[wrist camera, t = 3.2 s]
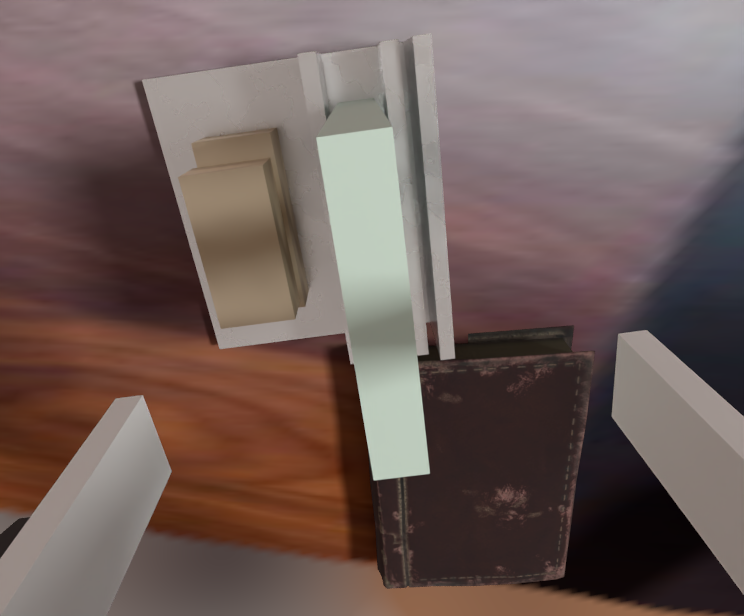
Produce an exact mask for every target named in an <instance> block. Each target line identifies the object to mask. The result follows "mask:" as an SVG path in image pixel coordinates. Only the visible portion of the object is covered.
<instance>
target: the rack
mask: <svg viewBox="0 0 744 616" xmlns="http://www.w3.org/2000/svg"><path fill="white" fill-rule="evenodd" d="M142 82H143V86H144V89H145V93H146V96H147V100H148V103H149V106H150V110H151V113H152V117H153V120H154V124H155V127H156V131H157V134H158V138H159V141H160V145H161V148H162V151H163V155H164V158H165V162H166V165H167V169H168V172H169V176H170V179H171V183H172V186H173V189H174V193H175V196H176V200H177V203H178V207H179V210H180V214H181V217H182V221H183V224H184V228H185V231H186V234H187V238H188V241H189V245H190V248H191V252H192V255H193V259H194V262H195V266H196V269H197V272H198V276H199V279H200V283H201V286H202V290H203V293H204V297H205V300H206V304H207V307H208V311H209V314H210V317H211V321H212V324H213V328H214V331H215V335H216V338H217V342H218V345H219V349H224V348H232V347H239V346H247V345H255V344H263V343H271V342H278V341H286V340H294V339H302V338H309V337H317V336H325V335H333V334H341V333H345V335H346V341H347V347H348V352H349V358H350V364H354V361H353V355H352V349H351V343H350V337H349V331H348V325H347V319H346V313H345V307H344V301H343V295H342V289H341V283H340V277H339V271H338V265H337V259H336V253H335V247H334V241H333V236H332V230H331V224H330V218H329V212H328V206H327V200H326V194H325V188H324V182H323V176H322V170H321V164H320V158H319V152H318V146H317V140H316V137H317V135H318V134H319V132H320V130H321V129H322V127H323V126H324V124H325V122H326V121H327V119H328V117H329V116H330V114H331V113H332V111H333V109H334V108H335V106H336V105H337V103H339V102H346V101H353V100H361V99H368V98H374V99H375V101H376V102H377V104H378V105H379V107H380V108H381V110H382V111H383V113H384V114H385V116H386V118H387V119H388V121H389V122H390V124H391V125H392V127H393V136H394V145H395V154H396V164H397V173H398V182H399V191H400V201H401V210H402V219H403V228H404V238H405V247H406V256H407V265H408V275H409V284H410V293H411V302H412V312H413V321H414V330H415V339H416V349H417V356H419V355H427V354H429V351H428V341H427V330H426V322H430V325H431V328H432V332H433V335H434V339H435V342H436V346H437V349H438V353H439V356H440V359H441V360H446V359H454V358H455V349H454V336H453V322H452V308H451V295H450V281H449V267H448V254H447V240H446V226H445V213H444V199H443V185H442V172H441V158H440V144H439V131H438V117H437V103H436V90H435V76H434V62H433V49H432V35H431V34H424V35H417V36H412V37H411V38H409V39H407V40H406V41H404V42H401V43H398V39H396V40H389V41H382V42H380V43H379V44H378V45H377V46H373V47H366V48H359V49H352V50H346V51H339V52H332V53H325V54H320V53H318V52H316V51H313V52H306V53H300V54H298V57H297V58H290V59H283V60H277V61H270V62H263V63H256V64H249V65H242V66H235V67H228V68H221V69H214V70H208V71H201V72H194V73H187V74H180V75H173V76H166V77H159V78H152V79H145V80H142ZM270 128H277V131H278V136H279V141H280V147H281V152H282V157H283V162H284V167H285V172H286V177H287V182H288V187H289V192H290V197H291V203H292V208H293V213H294V218H295V223H296V228H297V233H298V238H299V243H300V248H301V253H302V258H303V264H304V269H305V274H306V279H307V284H308V289H309V292H308V297H307V301H306V306H305V307H300V308H298V311H297V315H296V319H294V320H286V321H278V322H271V323H263V324H255V325H247V326H240V327H232V328H224V329H221V328H220V324H219V321H218V317H217V314H216V310H215V307H214V303H213V299H212V296H211V292H210V289H209V285H208V282H207V278H206V275H205V271H204V268H203V264H202V261H201V257H200V254H199V250H198V246H197V243H196V239H195V236H194V232H193V229H192V225H191V222H190V218H189V215H188V211H187V208H186V204H185V200H184V197H183V193H182V190H181V186H180V183H179V179H178V177H179V176H181V175H182V174H184V173H186V172H188V171H189V170H191V169H193V168H197V165H196V161H195V157H194V153H193V149H192V146H191V143H193V142H195V141H198V140H200V139H202V138H206V137H213V136H220V135H228V134H235V133H242V132H249V131H256V130H263V129H270Z"/></svg>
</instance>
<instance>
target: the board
mask: <svg viewBox="0 0 744 616" xmlns="http://www.w3.org/2000/svg"><path fill="white" fill-rule="evenodd" d="M316 140H317V146H318V152H319V158H320V164H321V170H322V176H323V182H324V188H325V194H326V200H327V206H328V212H329V218H330V224H331V230H332V236H333V241H334V247H335V253H336V259H337V265H338V271H339V277H340V283H341V289H342V295H343V301H344V307H345V313H346V319H347V325H348V331H349V337H350V343H351V349H352V355H353V361H354V367H355V373H356V378H357V384H358V390H359V396H360V402H361V408H362V414H363V420H364V426H365V432H366V438H367V444H368V450H369V456H370V462H371V468H372V474H373V480H382V479H391V478H399V477H407V476H416V475H424V474H430V469H429V460H428V450H427V441H426V432H425V423H424V413H423V404H422V395H421V386H420V376H419V367H418V358H417V349H416V339H415V330H414V321H413V312H412V302H411V293H410V284H409V275H408V265H407V256H406V247H405V238H404V228H403V219H402V210H401V201H400V191H399V182H398V173H397V164H396V154H395V145H394V136H393V127H392V125H391V124H390V122H389V121H388V119H387V118H386V116H385V114H384V113H383V111H382V110H381V108H380V107H379V105H378V104H377V102H376V101H375V99H374V98H368V99H361V100H353V101H346V102H339V103H337V105H336V106H335V108H334V109H333V111H332V113H331V114H330V116H329V117H328V119H327V121H326V122H325V124H324V126H323V127H322V129H321V130H320V132H319V134H318V135H317V137H316Z"/></svg>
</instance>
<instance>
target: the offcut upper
mask: <svg viewBox="0 0 744 616" xmlns="http://www.w3.org/2000/svg"><path fill="white" fill-rule="evenodd" d="M178 179H179V183H180V186H181V190H182V193H183V197H184V200H185V204H186V208H187V211H188V215H189V218H190V222H191V225H192V229H193V232H194V236H195V239H196V243H197V246H198V250H199V254H200V257H201V261H202V264H203V268H204V271H205V275H206V278H207V282H208V285H209V289H210V292H211V296H212V299H213V303H214V307H215V310H216V314H217V317H218V321H219V324H220V328H221V329H224V328H232V327H240V326H247V325H255V324H263V323H271V322H278V321H286V320H294V319H296V315H297V311H298V307H299V303H300V299H299V294H298V290H297V285H296V280H295V275H294V270H293V265H292V260H291V256H290V251H289V246H288V241H287V236H286V231H285V226H284V222H283V217H282V212H281V207H280V202H279V197H278V193H277V188H276V183H275V178H274V173H273V168H272V163H271V159H270V158H264V159H257V160H250V161H243V162H235V163H228V164H221V165H214V166H207V167H200V168H193V169H191V170H189V171H188V172H186V173H184V174H182V175H181V176H179V177H178Z"/></svg>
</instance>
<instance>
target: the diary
mask: <svg viewBox="0 0 744 616" xmlns="http://www.w3.org/2000/svg"><path fill="white" fill-rule="evenodd" d="M573 330H574V325H573V326H560V327H548V328H536V329H523V330H511V331H498V332H486V333H473V334H468V343H466V344H454V349H455V358H454V359H446V360H441V359H440V356H439V353H438V349H437V346H428V351H429V354H427V355H419V356H417V358H418V367H419V376H420V386H421V395H422V404H423V413H424V423H425V432H426V441H427V450H428V460H429V469H430V474H424V475H416V476H407V477H399V478H391V479H382V480H373V474H372V468H371V462H370V456H369V450H368V456H369V471H370V484H371V493H372V501H373V510H374V519H375V527H376V546H377V565H378V570H379V572H380V574H381V576H382V579H383V584H384V586H385V587H386V588H405V587H407V586H409V587H423V586H424V587H425V586H481V585H500V584H517V583H526V582H535V581H545V580H554V579H558V578H562V577H564V573H565V566H566V558H567V551H568V543H569V536H570V528H571V520H572V512H573V504H574V496H575V488H576V480H577V474H578V468H579V462H580V456H581V450H582V443H583V438H584V432H585V426H586V419H587V411H588V402H589V394H590V386H591V378H592V370H593V362H594V354H595V351H582V352H572V350H571V346H572V339H573Z"/></svg>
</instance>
